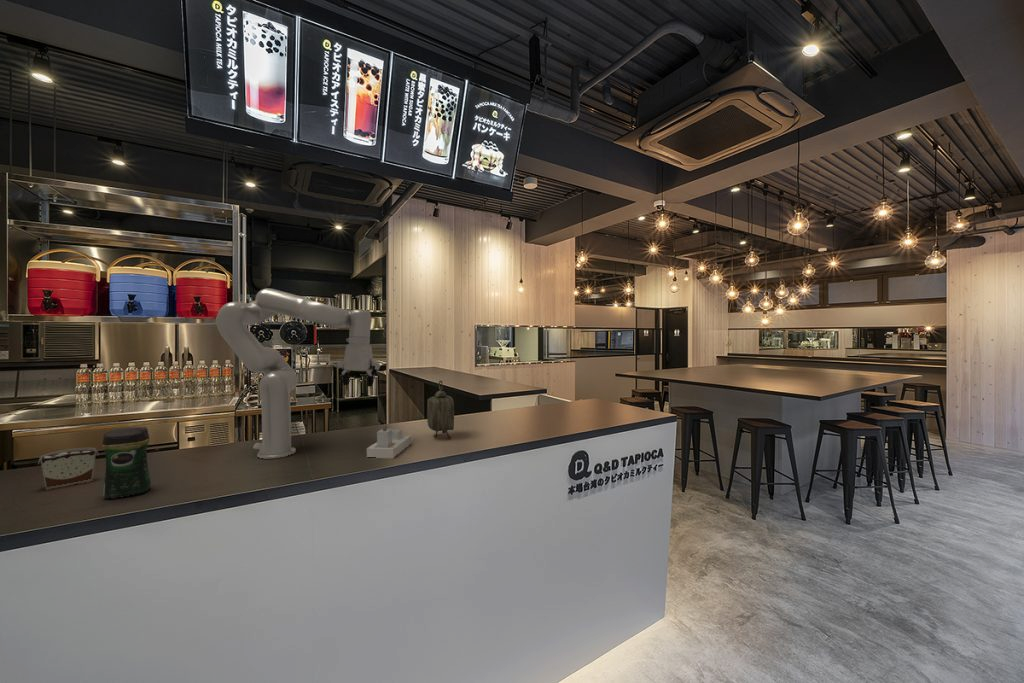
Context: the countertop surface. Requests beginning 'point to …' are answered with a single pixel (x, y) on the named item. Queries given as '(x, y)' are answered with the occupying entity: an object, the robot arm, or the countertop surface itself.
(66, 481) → the food container
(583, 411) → the countertop surface
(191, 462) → the countertop surface
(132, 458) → the coffee jar
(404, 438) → the power strip
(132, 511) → the countertop surface
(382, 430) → the plug
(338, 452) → the countertop surface
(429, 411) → the dark lantern
